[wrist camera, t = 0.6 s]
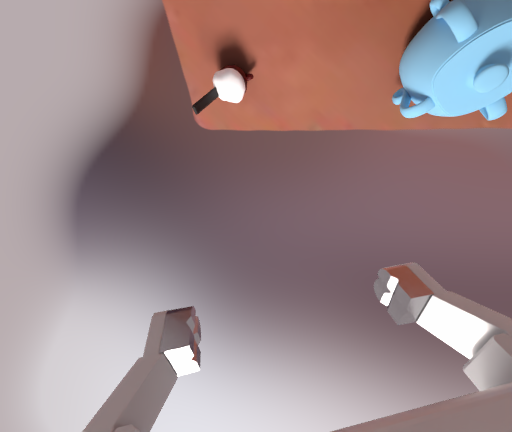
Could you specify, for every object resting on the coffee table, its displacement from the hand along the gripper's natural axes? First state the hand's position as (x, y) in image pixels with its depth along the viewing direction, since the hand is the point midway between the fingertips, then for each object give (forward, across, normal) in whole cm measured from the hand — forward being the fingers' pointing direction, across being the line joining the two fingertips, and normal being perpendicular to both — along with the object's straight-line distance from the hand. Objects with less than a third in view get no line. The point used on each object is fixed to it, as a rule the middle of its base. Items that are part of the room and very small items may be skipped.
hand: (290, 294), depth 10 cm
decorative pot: (+34, -38, -8) cm, 51 cm away
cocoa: (+49, -3, -6) cm, 49 cm away
